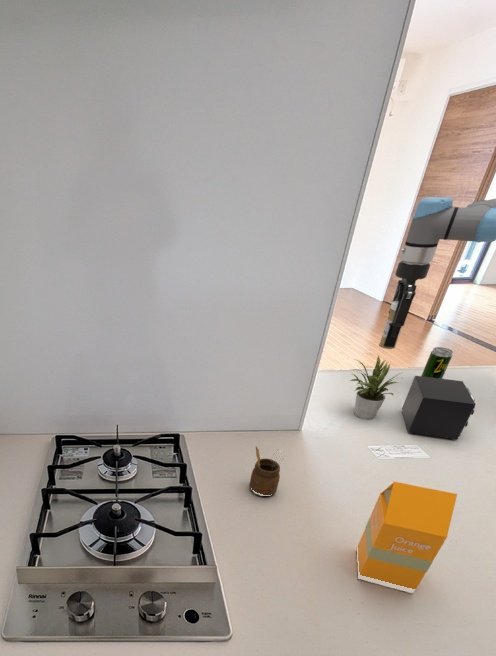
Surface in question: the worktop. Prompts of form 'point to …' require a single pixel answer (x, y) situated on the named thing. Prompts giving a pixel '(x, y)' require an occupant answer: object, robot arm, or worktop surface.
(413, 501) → the orange juice
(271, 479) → the utensil holder
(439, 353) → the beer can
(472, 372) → the worktop surface
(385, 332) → the sprinkles bottle
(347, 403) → the worktop surface
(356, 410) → the house plant
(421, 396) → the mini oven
